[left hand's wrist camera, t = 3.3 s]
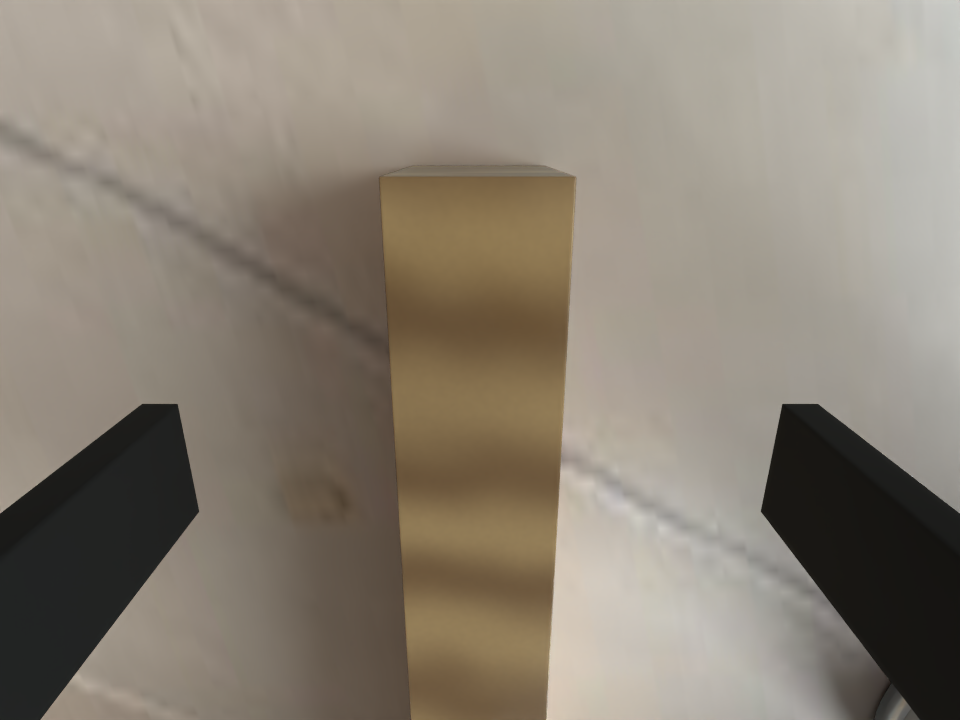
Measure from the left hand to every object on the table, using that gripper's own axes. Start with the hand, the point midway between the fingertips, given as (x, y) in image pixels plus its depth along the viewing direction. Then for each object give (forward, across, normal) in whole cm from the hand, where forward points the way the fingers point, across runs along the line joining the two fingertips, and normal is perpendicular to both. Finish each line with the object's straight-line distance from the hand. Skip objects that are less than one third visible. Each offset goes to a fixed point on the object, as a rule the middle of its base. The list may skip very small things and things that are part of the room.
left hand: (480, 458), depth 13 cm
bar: (+14, 0, -26) cm, 29 cm away
